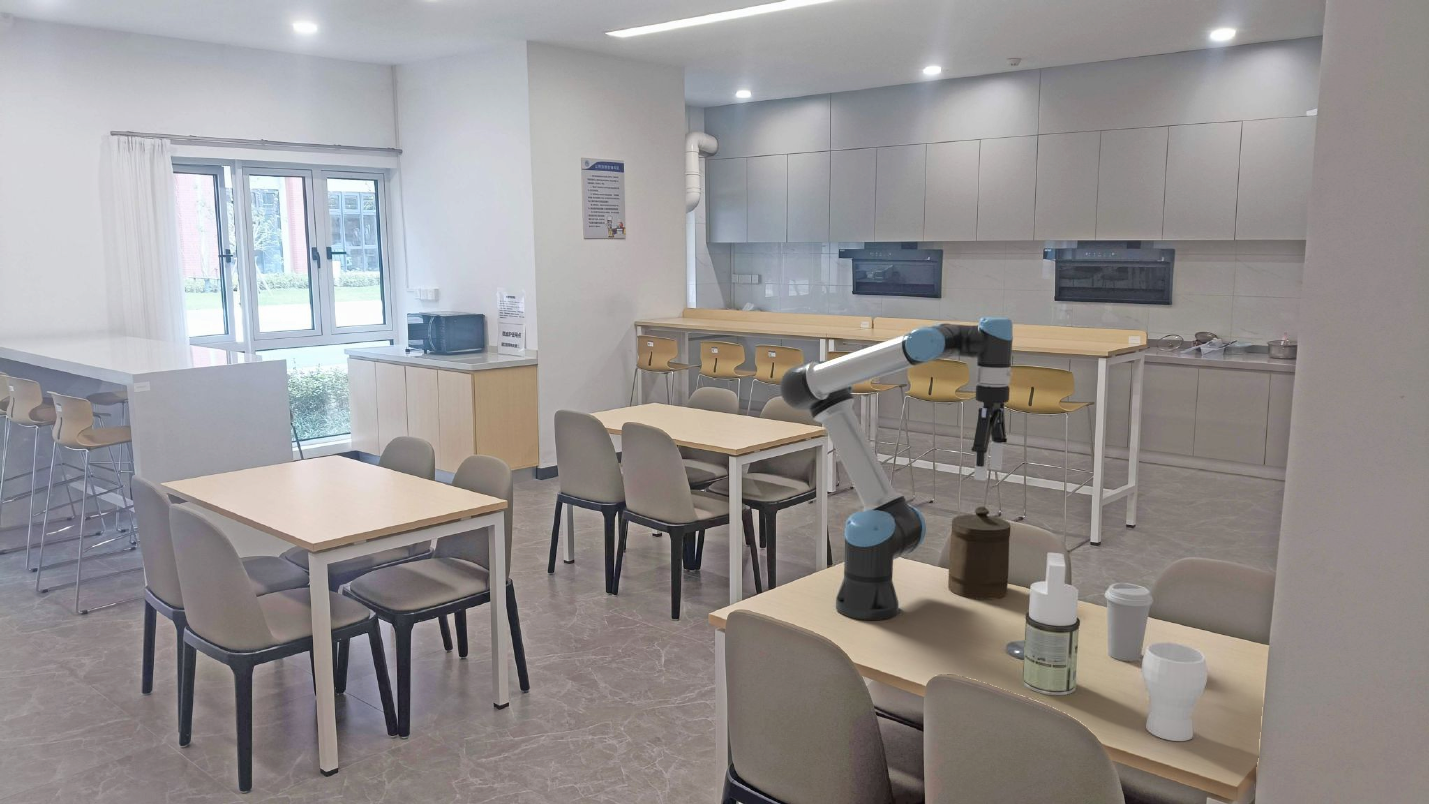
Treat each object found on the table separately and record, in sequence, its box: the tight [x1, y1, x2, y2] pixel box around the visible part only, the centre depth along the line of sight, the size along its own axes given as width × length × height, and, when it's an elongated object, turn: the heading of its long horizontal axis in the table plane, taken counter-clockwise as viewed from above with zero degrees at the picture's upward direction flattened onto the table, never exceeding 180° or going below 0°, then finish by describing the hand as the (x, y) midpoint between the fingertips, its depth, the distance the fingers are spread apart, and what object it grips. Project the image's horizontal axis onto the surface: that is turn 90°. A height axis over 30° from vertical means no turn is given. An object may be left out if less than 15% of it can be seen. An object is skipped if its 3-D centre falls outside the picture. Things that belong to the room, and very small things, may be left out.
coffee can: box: [1021, 611, 1081, 696], centre depth 195 cm, size 10×10×14 cm
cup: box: [1141, 642, 1208, 742], centre depth 176 cm, size 11×11×15 cm
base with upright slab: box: [1028, 552, 1079, 626], centre depth 193 cm, size 9×9×12 cm
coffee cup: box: [1104, 582, 1154, 663], centre depth 210 cm, size 10×10×15 cm
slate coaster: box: [1005, 640, 1025, 661], centre depth 212 cm, size 10×10×1 cm
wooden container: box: [947, 506, 1011, 600], centre depth 251 cm, size 15×15×22 cm
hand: (988, 474), depth 229 cm, fingers open, 13 cm apart
